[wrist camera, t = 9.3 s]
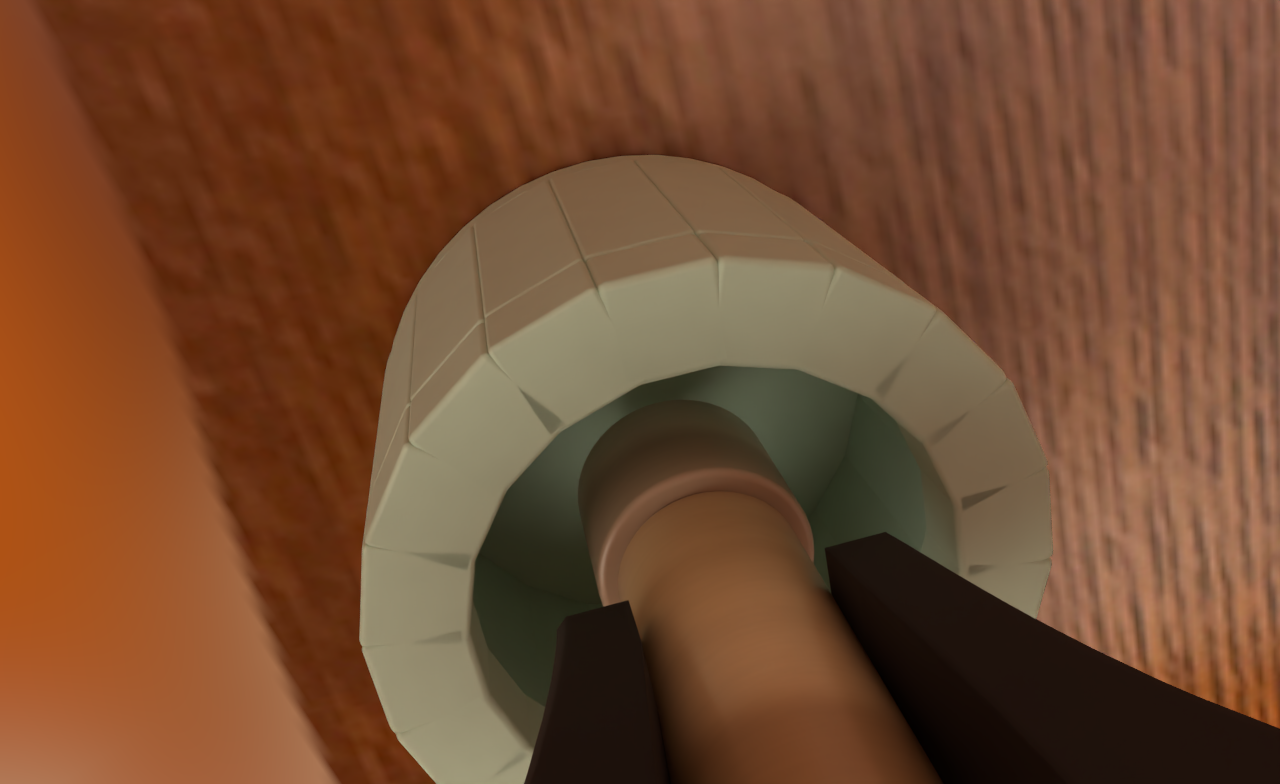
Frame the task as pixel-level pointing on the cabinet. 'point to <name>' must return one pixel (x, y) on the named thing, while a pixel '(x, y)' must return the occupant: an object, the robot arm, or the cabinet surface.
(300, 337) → the cabinet surface
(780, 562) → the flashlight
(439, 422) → the jar
